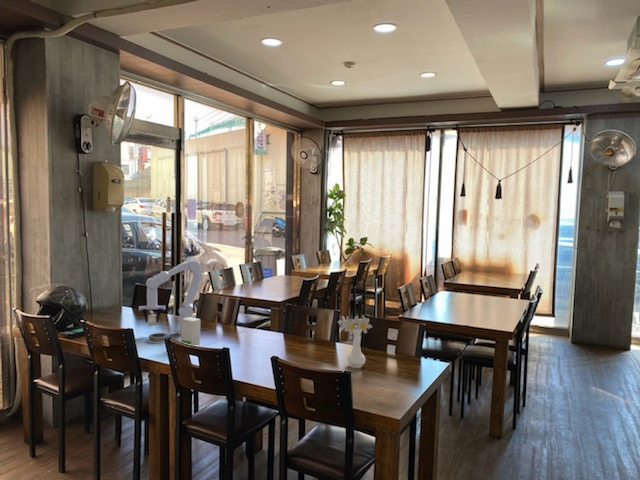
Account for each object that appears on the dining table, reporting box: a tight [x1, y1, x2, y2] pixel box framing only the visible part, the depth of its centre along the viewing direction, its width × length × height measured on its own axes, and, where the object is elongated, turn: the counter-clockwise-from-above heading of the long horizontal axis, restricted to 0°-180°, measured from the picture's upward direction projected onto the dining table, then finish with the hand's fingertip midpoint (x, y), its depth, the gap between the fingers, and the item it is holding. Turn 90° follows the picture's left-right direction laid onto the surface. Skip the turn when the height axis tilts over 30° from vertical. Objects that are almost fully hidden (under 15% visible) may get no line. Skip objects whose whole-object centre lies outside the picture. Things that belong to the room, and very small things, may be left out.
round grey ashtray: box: [147, 332, 169, 344], centre depth 273 cm, size 11×11×3 cm
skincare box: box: [180, 317, 201, 347], centre depth 262 cm, size 8×7×16 cm
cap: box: [146, 314, 158, 327], centre depth 281 cm, size 5×5×5 cm
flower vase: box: [337, 315, 373, 369], centre depth 237 cm, size 13×18×25 cm
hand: (152, 322), depth 281 cm, fingers closed on cap, 5 cm apart
